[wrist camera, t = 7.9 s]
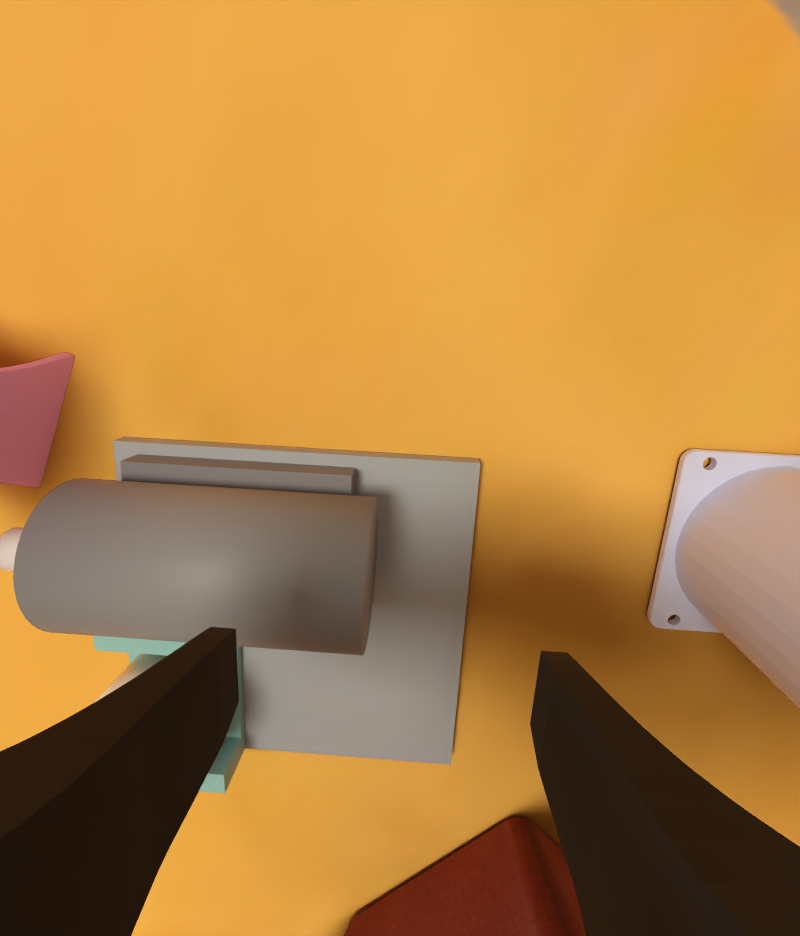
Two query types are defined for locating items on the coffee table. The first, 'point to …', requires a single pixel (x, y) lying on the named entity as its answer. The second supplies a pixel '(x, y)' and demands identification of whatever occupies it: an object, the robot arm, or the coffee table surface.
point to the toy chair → (30, 416)
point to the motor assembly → (272, 584)
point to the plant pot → (484, 892)
